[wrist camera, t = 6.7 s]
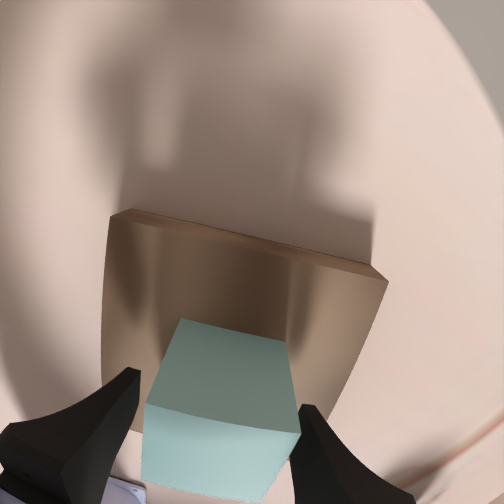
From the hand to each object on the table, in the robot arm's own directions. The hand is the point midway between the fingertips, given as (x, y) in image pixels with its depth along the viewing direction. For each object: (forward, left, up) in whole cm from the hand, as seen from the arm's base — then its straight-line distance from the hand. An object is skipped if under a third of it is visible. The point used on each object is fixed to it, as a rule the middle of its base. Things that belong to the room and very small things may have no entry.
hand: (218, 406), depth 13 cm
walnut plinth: (0, 0, -5) cm, 5 cm away
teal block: (0, 0, -3) cm, 3 cm away
